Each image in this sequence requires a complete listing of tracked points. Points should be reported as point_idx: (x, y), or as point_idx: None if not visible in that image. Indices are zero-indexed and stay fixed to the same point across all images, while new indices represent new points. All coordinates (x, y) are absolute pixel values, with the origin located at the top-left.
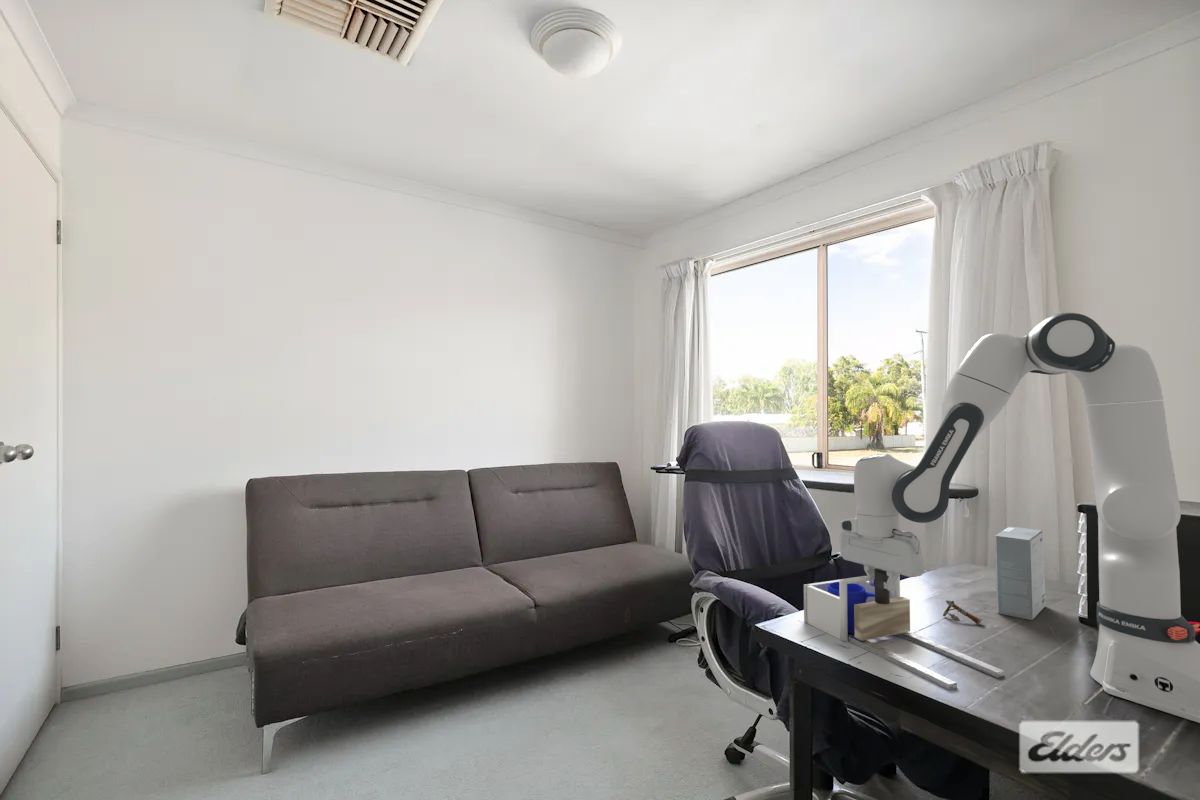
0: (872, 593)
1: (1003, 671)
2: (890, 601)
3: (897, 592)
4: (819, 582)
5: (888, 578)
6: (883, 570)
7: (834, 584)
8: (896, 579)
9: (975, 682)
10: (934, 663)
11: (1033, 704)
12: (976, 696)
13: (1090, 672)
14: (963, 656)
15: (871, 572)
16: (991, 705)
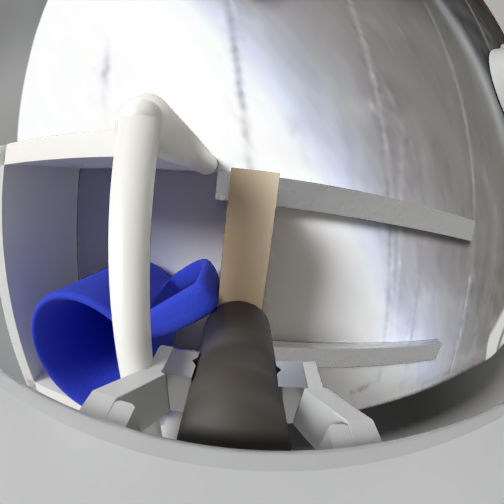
0: (167, 322)
1: (474, 223)
2: (251, 291)
3: (191, 153)
4: (10, 335)
5: (316, 447)
6: (235, 442)
7: (42, 346)
8: (345, 404)
9: (450, 292)
10: (387, 287)
11: (497, 282)
12: (456, 334)
13: (500, 100)
14: (422, 219)
15: (140, 410)
16: (469, 337)
